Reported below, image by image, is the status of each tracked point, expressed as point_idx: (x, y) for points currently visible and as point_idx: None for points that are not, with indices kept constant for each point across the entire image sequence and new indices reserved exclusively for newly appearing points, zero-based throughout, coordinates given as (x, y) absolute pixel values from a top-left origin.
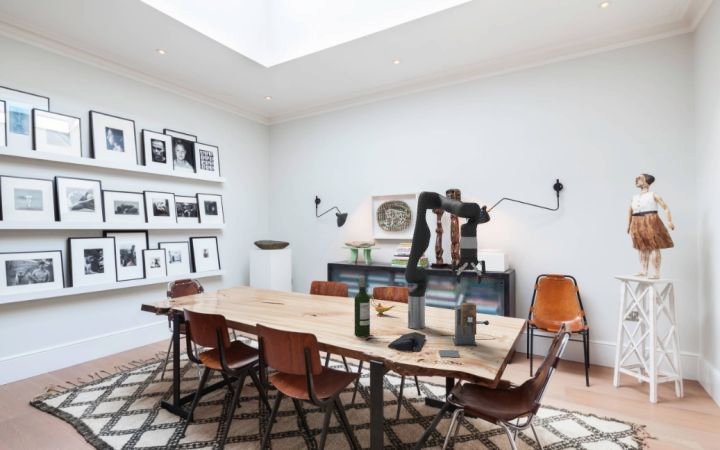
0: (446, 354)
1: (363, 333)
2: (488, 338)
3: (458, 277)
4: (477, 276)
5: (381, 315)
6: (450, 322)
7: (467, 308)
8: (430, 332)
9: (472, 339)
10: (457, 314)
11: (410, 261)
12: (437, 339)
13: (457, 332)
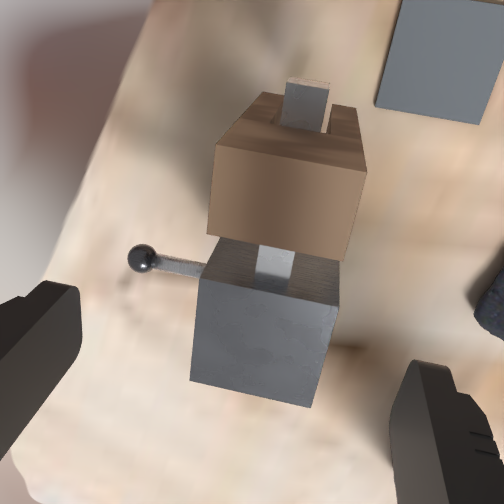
0: (471, 39)
1: None
2: (150, 282)
3: (477, 466)
4: (3, 433)
5: None
6: (254, 484)
7: (312, 149)
8: (398, 388)
9: None
10: (336, 283)
11: None
12: (405, 295)
13: None
